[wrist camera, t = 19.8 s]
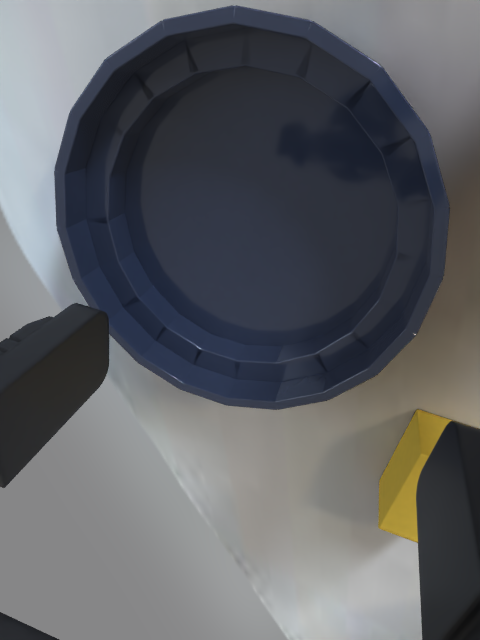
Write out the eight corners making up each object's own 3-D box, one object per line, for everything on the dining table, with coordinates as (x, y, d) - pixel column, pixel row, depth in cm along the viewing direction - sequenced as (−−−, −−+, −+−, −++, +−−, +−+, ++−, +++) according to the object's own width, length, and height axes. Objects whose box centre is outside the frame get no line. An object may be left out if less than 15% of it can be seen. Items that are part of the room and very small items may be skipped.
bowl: (511, 67, 19) (543, 65, 15) (365, 402, 29) (361, 452, 25) (105, -14, 22) (45, -33, 18) (99, 316, 32) (61, 348, 28)
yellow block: (416, 408, 28) (420, 453, 25) (492, 432, 27) (506, 482, 24) (378, 480, 32) (377, 528, 28) (444, 503, 31) (451, 555, 27)
